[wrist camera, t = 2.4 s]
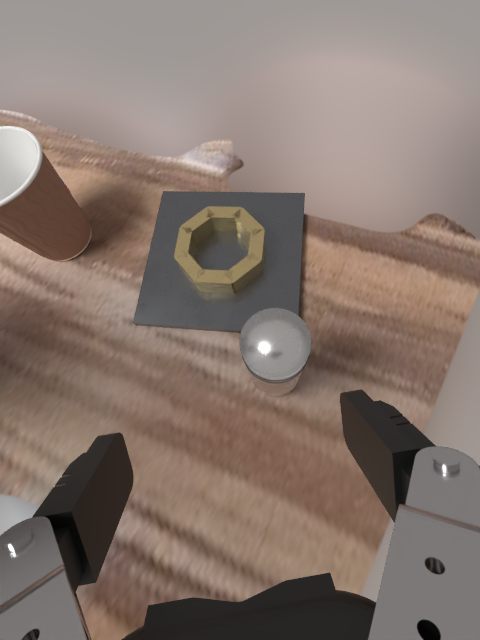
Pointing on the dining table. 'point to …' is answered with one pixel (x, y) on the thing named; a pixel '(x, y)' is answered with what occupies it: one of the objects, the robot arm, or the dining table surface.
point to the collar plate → (222, 259)
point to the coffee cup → (37, 200)
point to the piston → (275, 349)
